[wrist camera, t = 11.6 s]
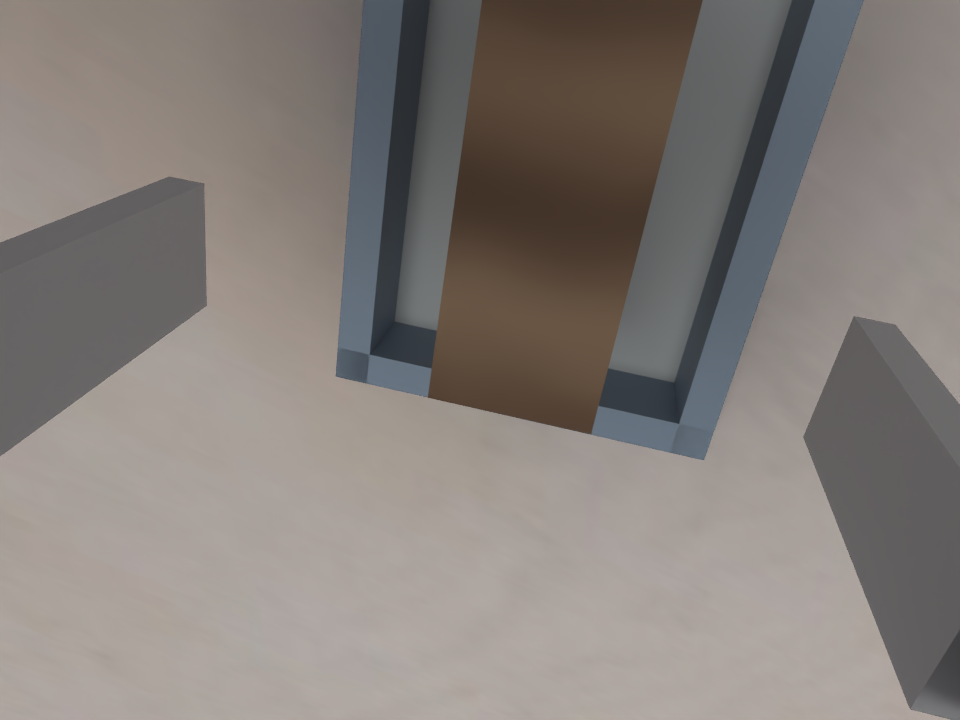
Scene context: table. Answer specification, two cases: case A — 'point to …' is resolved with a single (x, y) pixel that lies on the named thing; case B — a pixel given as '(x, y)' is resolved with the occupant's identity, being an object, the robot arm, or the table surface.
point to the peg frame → (670, 221)
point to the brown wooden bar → (554, 199)
